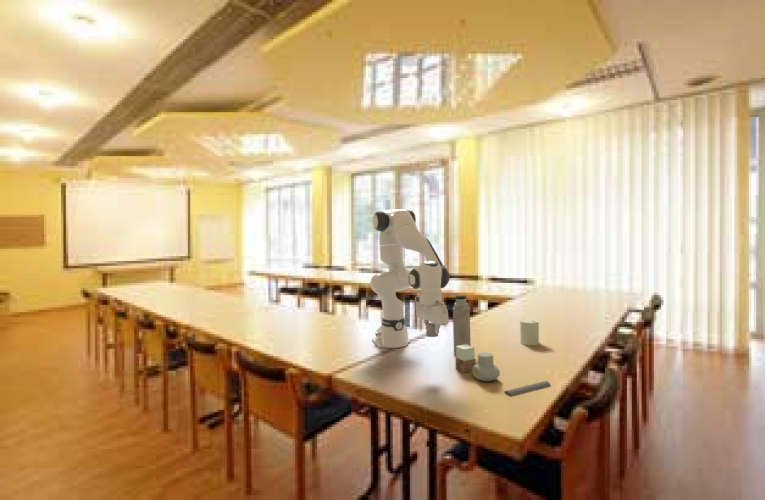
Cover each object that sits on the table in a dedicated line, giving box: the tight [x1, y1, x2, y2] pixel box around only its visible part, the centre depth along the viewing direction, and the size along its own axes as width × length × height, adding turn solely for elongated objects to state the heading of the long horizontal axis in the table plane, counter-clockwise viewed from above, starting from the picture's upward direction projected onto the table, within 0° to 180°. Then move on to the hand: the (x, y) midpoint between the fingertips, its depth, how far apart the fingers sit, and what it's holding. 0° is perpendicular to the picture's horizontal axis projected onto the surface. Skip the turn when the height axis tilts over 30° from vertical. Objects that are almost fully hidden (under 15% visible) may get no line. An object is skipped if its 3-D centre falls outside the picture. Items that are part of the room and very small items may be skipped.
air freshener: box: [471, 351, 501, 382], centre depth 164 cm, size 11×8×10 cm
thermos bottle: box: [452, 295, 472, 356], centre depth 197 cm, size 8×8×28 cm
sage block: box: [455, 344, 476, 361], centre depth 176 cm, size 6×6×5 cm
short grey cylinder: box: [425, 322, 439, 338], centre depth 175 cm, size 5×5×5 cm
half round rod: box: [504, 380, 552, 397], centre depth 153 cm, size 4×20×2 cm, turn 115°
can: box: [519, 318, 540, 346], centre depth 212 cm, size 9×9×12 cm
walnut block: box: [455, 357, 477, 374], centre depth 176 cm, size 6×6×5 cm
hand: (432, 331), depth 175 cm, fingers closed on short grey cylinder, 5 cm apart
